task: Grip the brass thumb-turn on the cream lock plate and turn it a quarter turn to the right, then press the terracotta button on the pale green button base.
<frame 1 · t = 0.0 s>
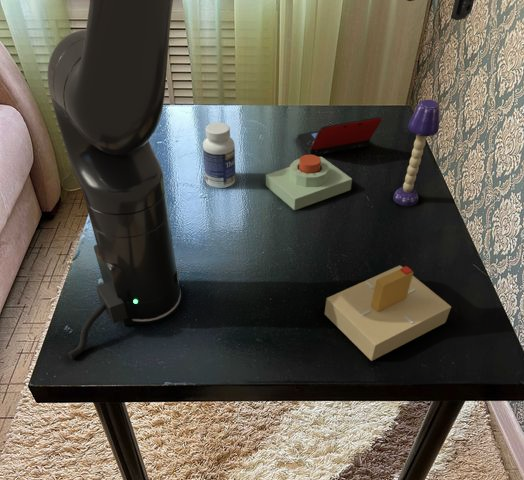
hand: (434, 8, 69), 29 cm above the table, tool pointing down, fingers open, 8 cm apart
lock knob: (392, 288, 69), point 5 cm above the table, hinge at 0.0°
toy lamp: (405, 201, 92), on the table
bell button: (309, 164, 91), point 4 cm above the table, slide at 0.1 cm
lock plate: (384, 318, 73), on the table
pale green button base: (308, 187, 94), on the table
handheld game console: (335, 148, 104), on the table
pill bottle: (220, 182, 96), on the table
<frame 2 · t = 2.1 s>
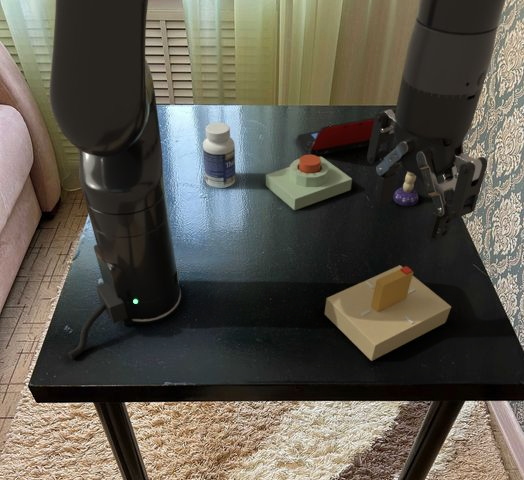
hand: (408, 220, 63), 15 cm above the table, tool pointing down, fingers open, 8 cm apart
nothing on the table moved.
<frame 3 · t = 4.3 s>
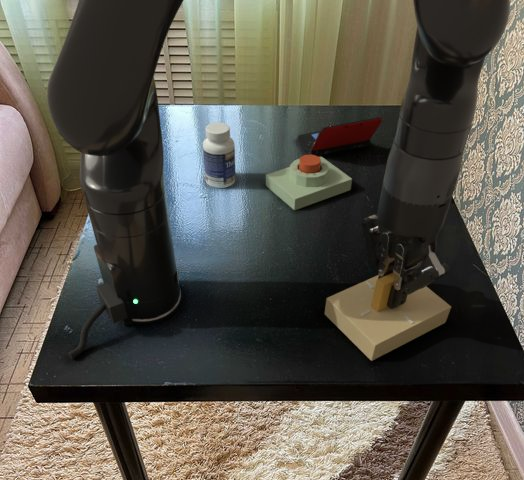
hand: (389, 300, 71), 3 cm above the table, tool pointing down, fingers closed
lock knob: (392, 288, 69), point 5 cm above the table, hinge at 0.1°, touching gripper
everything else where it was.
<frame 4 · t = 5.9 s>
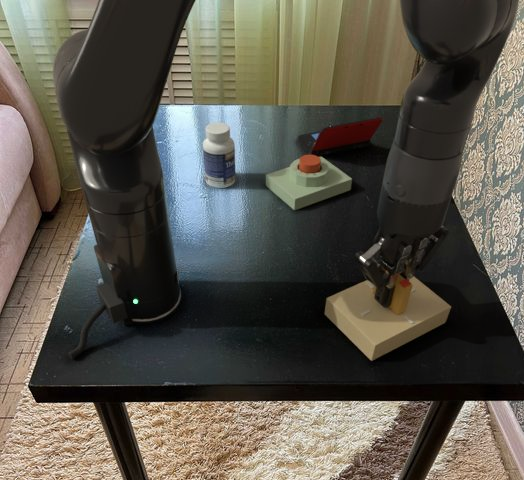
hand: (388, 300, 71), 3 cm above the table, tool pointing down, fingers closed
lock knob: (392, 288, 69), point 5 cm above the table, hinge at -89.9°
everything else where it was.
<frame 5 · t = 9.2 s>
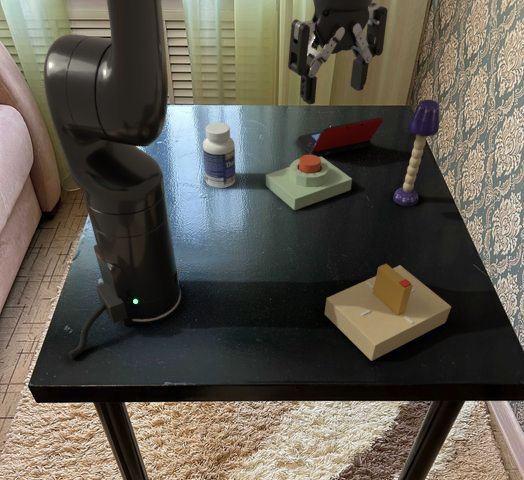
hand: (332, 95, 77), 18 cm above the table, tool pointing down, fingers open, 8 cm apart
nothing on the table moved.
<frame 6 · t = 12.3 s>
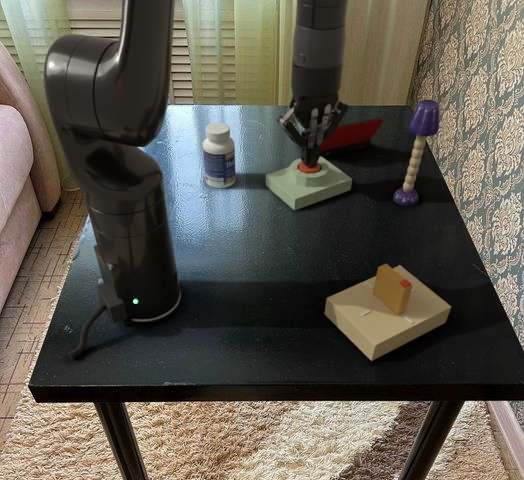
hand: (309, 164, 91), 4 cm above the table, tool pointing down, fingers closed
bell button: (309, 170, 92), point 3 cm above the table, slide at -0.9 cm, touching gripper
everything else where it was.
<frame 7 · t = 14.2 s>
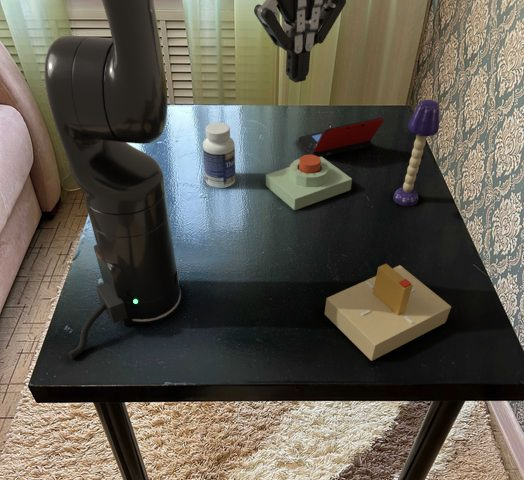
hand: (296, 79, 73), 21 cm above the table, tool pointing down, fingers closed
bell button: (309, 164, 91), point 4 cm above the table, slide at 0.1 cm
everything else where it was.
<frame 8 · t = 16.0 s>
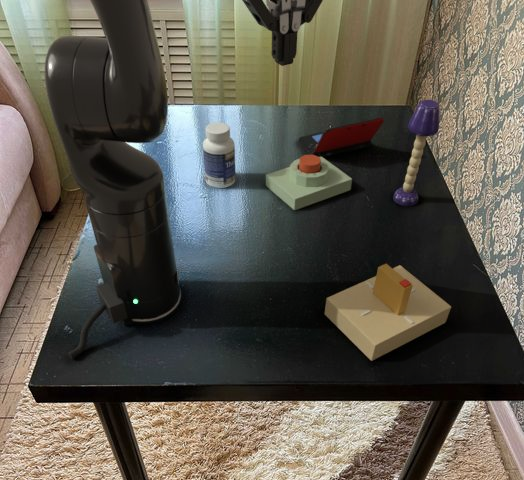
hand: (283, 62, 68), 25 cm above the table, tool pointing down, fingers closed
nothing on the table moved.
at the end: lock knob at -90° (first picture: +0°); bell button pushed in 1.1 cm at the most during the clip, back to where it started at the end; bell button slide at 0.1 cm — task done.
